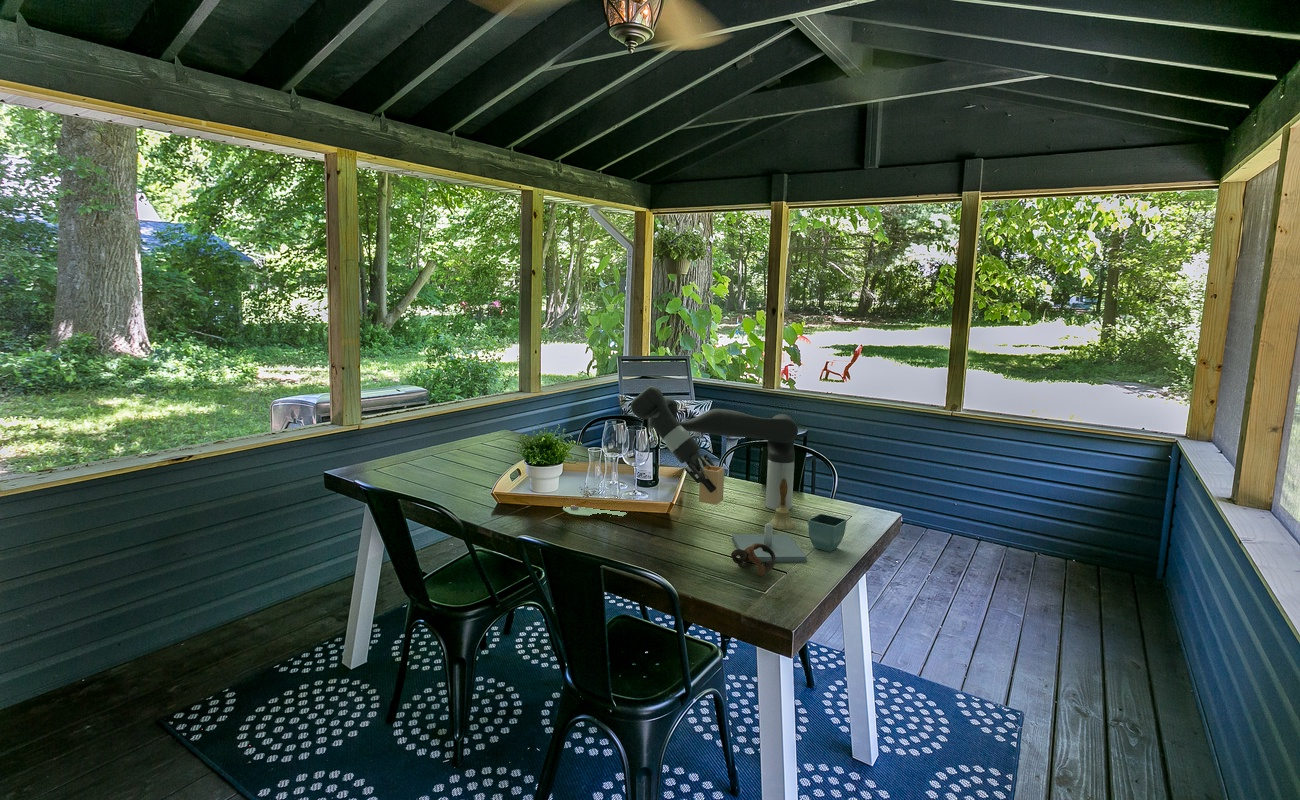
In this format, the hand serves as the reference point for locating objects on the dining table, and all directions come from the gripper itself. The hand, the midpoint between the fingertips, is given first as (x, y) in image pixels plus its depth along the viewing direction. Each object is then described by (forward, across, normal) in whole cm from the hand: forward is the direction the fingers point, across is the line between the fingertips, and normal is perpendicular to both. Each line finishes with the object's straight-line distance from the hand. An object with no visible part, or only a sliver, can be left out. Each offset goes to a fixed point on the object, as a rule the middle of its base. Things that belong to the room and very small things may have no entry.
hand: (717, 488), depth 197 cm
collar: (+2, 0, -4) cm, 5 cm away
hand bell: (+22, -28, -4) cm, 36 cm away
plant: (-22, -14, -48) cm, 55 cm away
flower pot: (+34, -15, +8) cm, 38 cm away
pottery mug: (+24, +11, -2) cm, 26 cm away
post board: (+23, -5, -2) cm, 24 cm away
